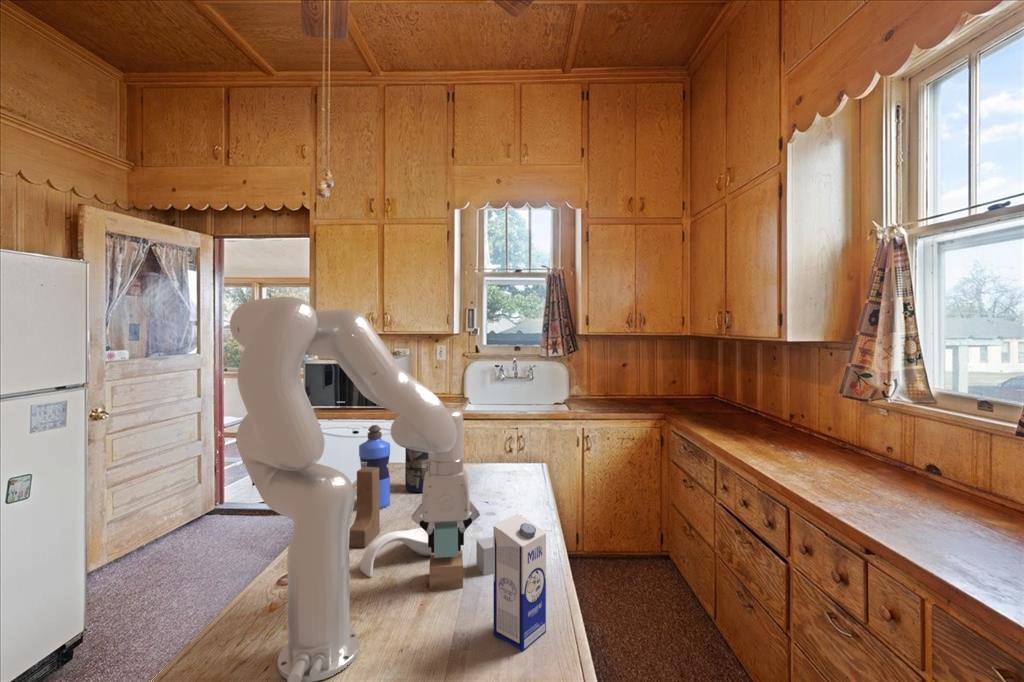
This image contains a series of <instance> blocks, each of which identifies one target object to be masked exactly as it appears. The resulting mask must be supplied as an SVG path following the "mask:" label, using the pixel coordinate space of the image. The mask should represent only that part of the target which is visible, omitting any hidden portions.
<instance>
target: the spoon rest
mask: <svg viewBox="0 0 1024 682" xmlns="http://www.w3.org/2000/svg"><path fill="white" fill-rule="evenodd" d="M396 541H397V542H402V543H403V544H404V545H406V546H407V547H409V548H410V549H412V550H413V551H414V552H416V553H417V554H418V555H420V556H425V557H426V556H427V557H428V556H429V557H430V554H431V547H429V548H428V534H427V532H426V531H425V530H424V529H423V528H422V527H417V528H413V529H412V528H411V529H408V530H397V531H396V530H395V531H392V532H387V533H385V534H382V535H381V536H378V538H377V539H374V541H373V542H372V543H371V544H369V546H367V549H366V550H365V552H364V553H363V556H362V559H361V561H360V567H359V568H360V571H361V572H362V573H363V574H364V575H365V576H367V577H368V578H372V577H373V576H374V575H373V573H374V564H375V563H374V562H375V558H376V556H377V555H378V554H379V552H380V550H381V549H383V548H384V547H385V546H386V545H388V544H390V543H391V542H392V543H393V542H396Z"/></svg>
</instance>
